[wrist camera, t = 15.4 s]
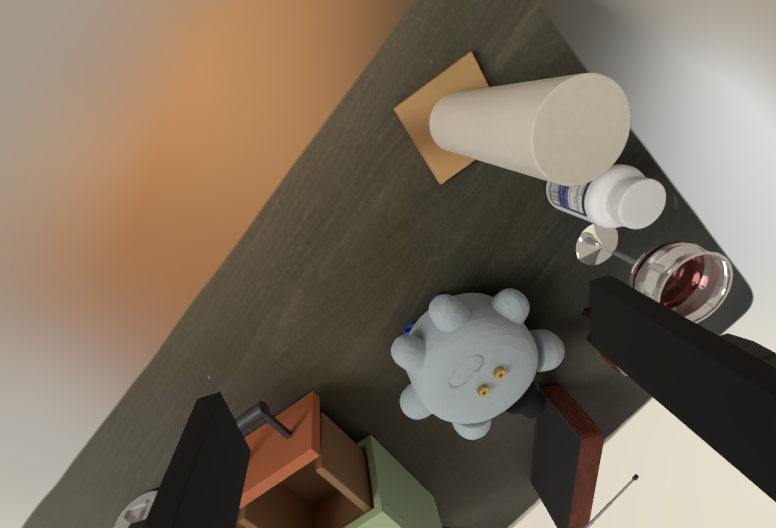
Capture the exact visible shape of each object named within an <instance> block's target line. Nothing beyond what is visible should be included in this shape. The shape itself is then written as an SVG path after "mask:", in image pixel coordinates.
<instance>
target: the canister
mask: <svg viewBox="0 0 776 528" xmlns="http://www.w3.org/2000/svg"><path fill="white" fill-rule="evenodd" d="M630 125H631V112H630V105H629V102H628V99H627V97H626V95H625V93H624V91H623V89H622V88H621V87H620V86H619V84H618V83H616V82H615V81H614V80H613V79H611V78H609V77H608V76H605V75H602V74H599V73H582V74H575V75H569V76H562V77H555V78H548V79H542V80H535V81H528V82H521V83H515V84H508V85H501V86H494V87H488V88H481V89H474V90H467V91H461V92H454V93H450V94H448V95H446V96H444V97H442V98H441V99H440V100H439V101H438V102H437V103H436V105H435V106H434V108H433V110H432V112H431V115H430V121H429V127H430V133H431V136H432V138H433V140H434V141H435V143H436V144H437V145H438V146H439V147H441V148H442V149H444V150H446V151H449V152H453V153H456V154H459V155H463V156H466V157H469V158H473V159H476V160H479V161H483V162H486V163H489V164H493V165H496V166H499V167H502V168H506V169H509V170H512V171H516V172H519V173H522V174H526V175H529V176H532V177H536V178H539V179H542V180H546V181H549V182H552V183H556V184H559V185H563V186H578V185H583V184H586V183H589V182H591V181H593V180H595V179H597V178H598V177H600V176H601V175H603V174H604V173H605V172H606V171H607V170H608V169H609V168H611V166H612V165H613V164H614V163H615V162H616V160H617V159H618V157H619V156H620V154H621V153H622V151H623V149H624V147H625V144H626V142H627V139H628V136H629V131H630Z"/></svg>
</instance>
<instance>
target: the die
mask: <svg viewBox="0 0 776 528" xmlns="http://www.w3.org/2000/svg"><path fill="white" fill-rule="evenodd" d="M157 492H158V490H155V491H150V492H147V493H144V494H142V495H141V496H139V497H138V498H136V499H135V500H134V501H132V502H131V503H130V504H129V505H128V506H127V507H126V508H125V509H124V511H123V512H122V513H121V515H120V516H119V518H118V519H117V521H116V523H115V526H114V528H128V527H129V525H130V524H131V523H135V522H138V521H141V520H144V519H146V518H147V515H148V513H149V511H150V508H151V506H152V504H153V501H154V499H155V496H156V494H157Z"/></svg>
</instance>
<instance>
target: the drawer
mask: <svg viewBox="0 0 776 528" xmlns="http://www.w3.org/2000/svg"><path fill="white" fill-rule="evenodd" d="M262 418H263V420H265V421H266V422H267V423H265V424H264V425H262V426H261V427H259V428H258V429H257V430H255V431H254V432H252V433H251V434H249V435H248V436H246V437H245V440H246V442H247V444H248V446H249V448H250V450H251V454H250V459H249V464H248V469H247V474H246V478H245V483H244V488H243V493H242V498H241V503H240V508H239V509H241V512H240V517H239V523H240V524H241V525H243V526H244V527H246V528H344V527H345V526H347V525H348V524H350V523H351V522H353V521H354V520H356V519H358V518H359V517H361V516H362V515H364V514H365V513H367V512H368V511H370V510H372V509H373V508H375V507H374V501H373V494H372V487H371V479H370V472H369V465H368V458H367V454H366V453H365V452H364V451H363V450H362V449H361V448H360V447H359V446H358V445H357V444H356V443H355V442H354V441H353V440H352V439H351V438H349V437H348V436H347V435H346V434H345V433H344V432H343V431H342V430H341V429H340V428H339V427H338V426H337V425H336V424H335V423H334V422H333V421H332V420H330V419H329V418H328V417H327V416H326V415H325V414H324V413H323V412H320V397H319V396H318V395H317V394H316V393H315V392H314V391H312V392H311V393H309V394H308V395H306V396H305V397H303V398H302V399H300V400H299V401H297V402H296V403H295V404H293V405H292V406H290V407H289V408H287V409H286V410H284V411H283V412H281V413H280V414H278V415H277V416H276V417H274V416H273V415H272V414H270V413H269V408H268V406H267V404H266V403H265V402H263V401H261V402H259V403H257V404H256V405H255V406H253V407H252V408H250V409H249V410H247V411H246V412H244V413H243V414H242V415H240V416H239V417H237V418H236V419H235V421H236V423H237V425H238V427H239V429H240V431H241V433H242V432H243V431H245V430H246V429H248V428H249V427H250V426H252V425H253V424H255V423H256V422H258V421H259V420H261V419H262Z"/></svg>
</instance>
